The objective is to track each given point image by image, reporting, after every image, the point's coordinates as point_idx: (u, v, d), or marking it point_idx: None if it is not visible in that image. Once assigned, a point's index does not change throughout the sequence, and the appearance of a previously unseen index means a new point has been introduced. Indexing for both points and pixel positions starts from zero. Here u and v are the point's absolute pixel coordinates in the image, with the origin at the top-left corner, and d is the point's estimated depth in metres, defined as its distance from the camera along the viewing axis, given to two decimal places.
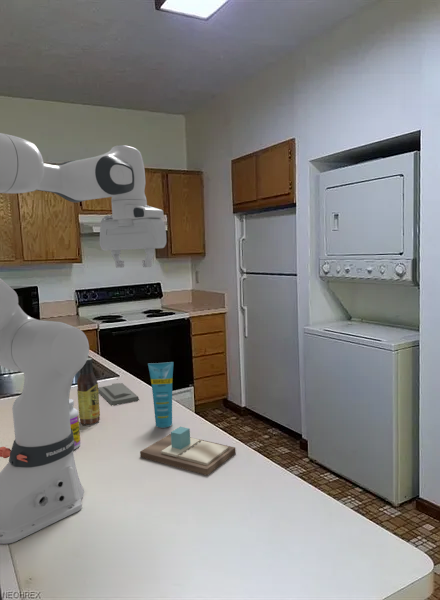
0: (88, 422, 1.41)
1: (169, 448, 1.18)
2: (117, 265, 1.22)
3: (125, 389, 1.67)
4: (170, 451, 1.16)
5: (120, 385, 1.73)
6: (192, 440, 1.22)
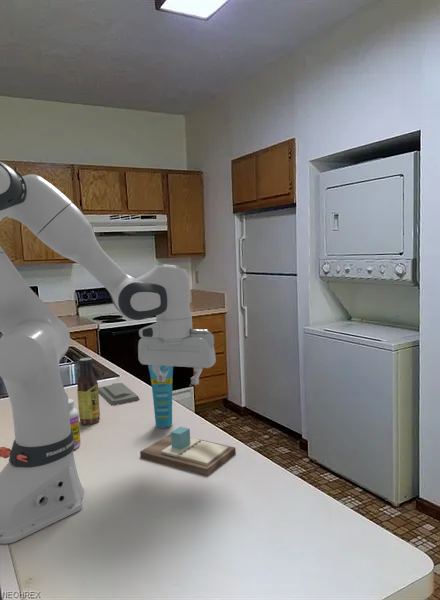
0: (88, 422, 1.41)
1: (169, 448, 1.18)
2: None
3: (125, 389, 1.67)
4: (170, 451, 1.16)
5: (120, 385, 1.73)
6: (192, 440, 1.22)
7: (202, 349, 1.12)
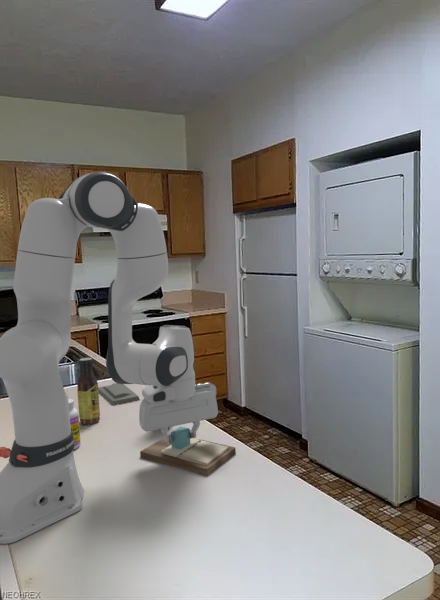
0: (88, 422, 1.41)
1: (169, 448, 1.18)
2: None
3: (125, 389, 1.67)
4: (170, 451, 1.16)
5: (120, 385, 1.73)
6: (192, 440, 1.22)
7: (211, 401, 1.19)
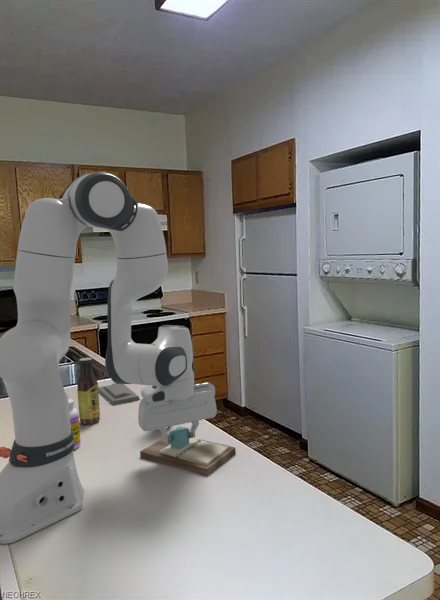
0: (88, 422, 1.41)
1: (168, 448, 1.18)
2: None
3: (125, 389, 1.67)
4: (169, 450, 1.16)
5: (120, 385, 1.73)
6: (191, 440, 1.22)
7: (209, 401, 1.20)
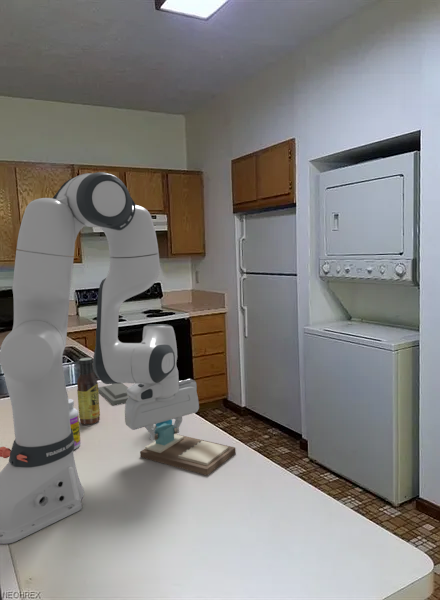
0: (88, 422, 1.41)
1: (153, 444, 1.20)
2: None
3: (125, 389, 1.67)
4: (154, 447, 1.19)
5: (120, 385, 1.73)
6: (176, 436, 1.25)
7: (192, 396, 1.24)
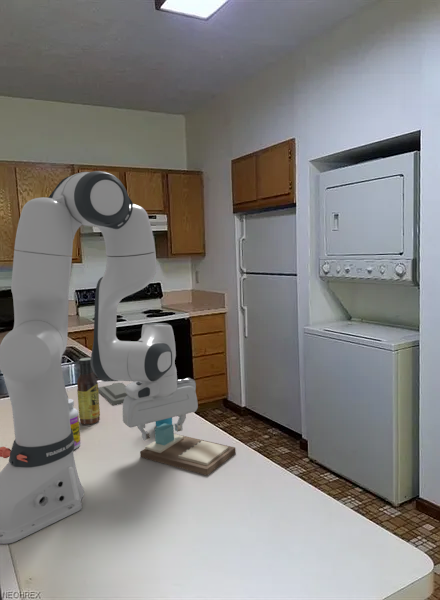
0: (88, 422, 1.41)
1: (153, 444, 1.20)
2: None
3: None
4: (154, 446, 1.19)
5: (120, 384, 1.73)
6: (176, 436, 1.25)
7: (191, 395, 1.24)
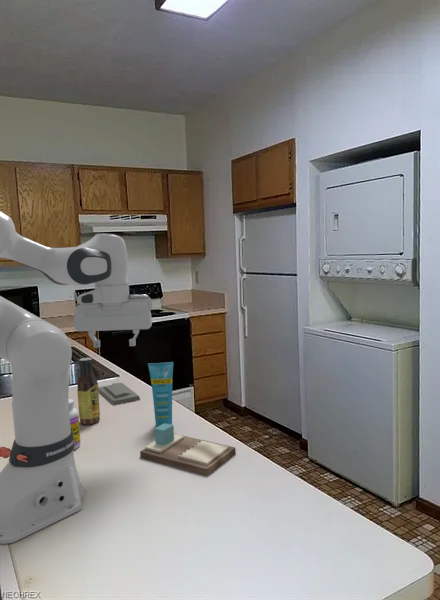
0: (88, 422, 1.41)
1: (153, 444, 1.20)
2: None
3: (126, 389, 1.68)
4: (154, 446, 1.19)
5: (120, 384, 1.73)
6: (176, 436, 1.25)
7: (143, 311, 1.23)
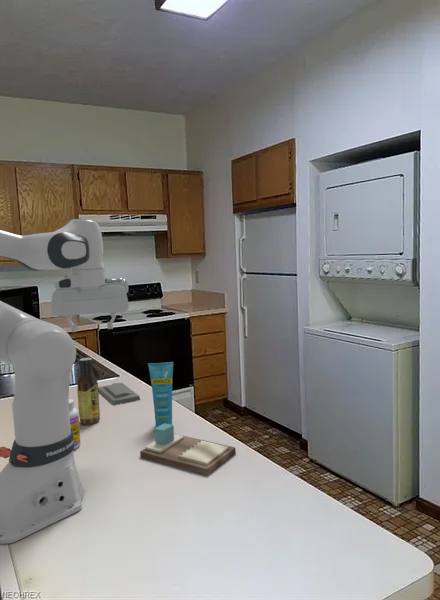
0: (88, 422, 1.41)
1: (153, 444, 1.20)
2: None
3: (126, 389, 1.68)
4: (154, 446, 1.19)
5: (120, 384, 1.73)
6: (176, 436, 1.25)
7: (120, 294, 1.26)
